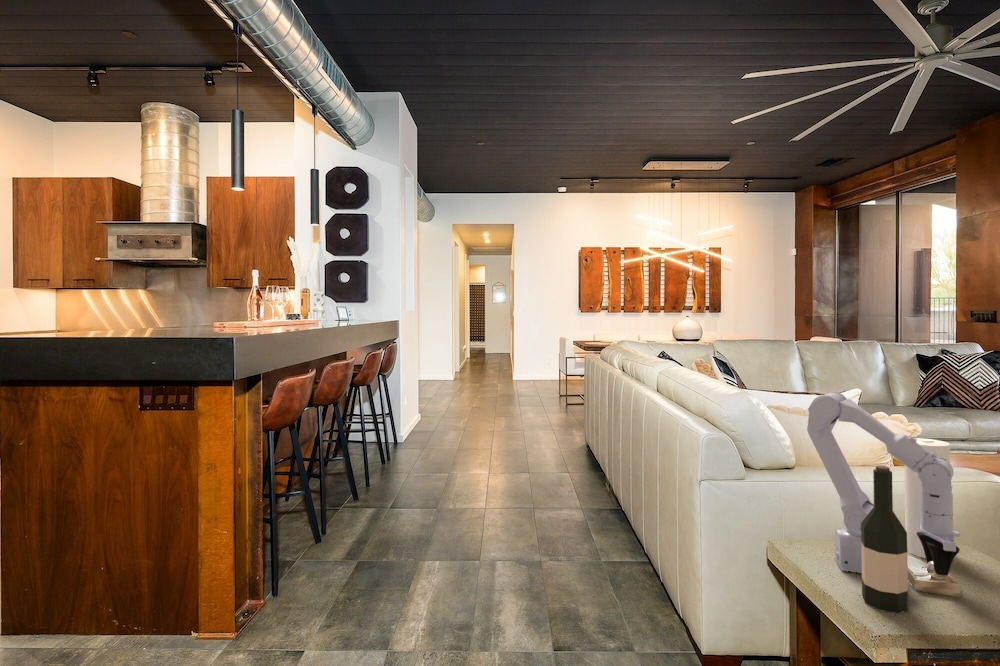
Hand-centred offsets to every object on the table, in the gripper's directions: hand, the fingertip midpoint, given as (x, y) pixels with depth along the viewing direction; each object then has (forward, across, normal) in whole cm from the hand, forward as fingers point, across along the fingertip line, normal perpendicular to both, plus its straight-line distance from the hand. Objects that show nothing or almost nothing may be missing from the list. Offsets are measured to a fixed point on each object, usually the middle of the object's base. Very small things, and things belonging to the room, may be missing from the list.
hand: (937, 569), depth 123 cm
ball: (0, 0, 0) cm, 0 cm away
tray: (+4, 0, +1) cm, 4 cm away
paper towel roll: (+4, +21, -5) cm, 22 cm away
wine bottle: (+4, -12, +13) cm, 18 cm away
